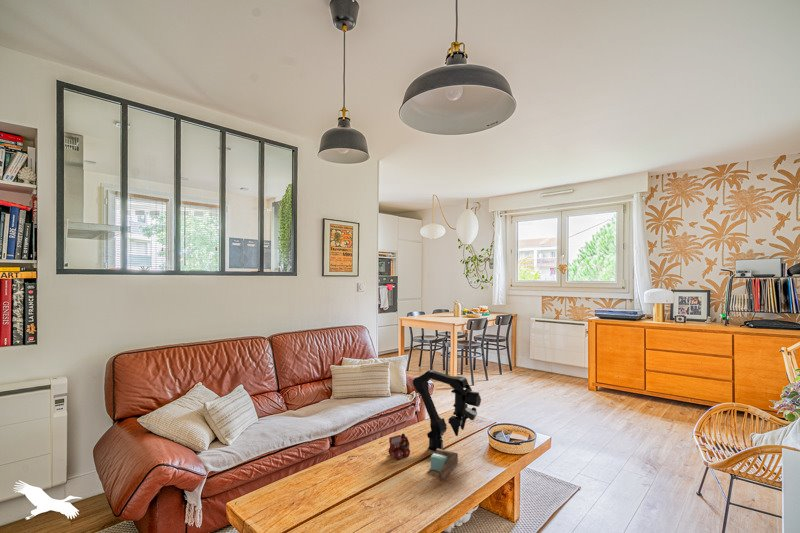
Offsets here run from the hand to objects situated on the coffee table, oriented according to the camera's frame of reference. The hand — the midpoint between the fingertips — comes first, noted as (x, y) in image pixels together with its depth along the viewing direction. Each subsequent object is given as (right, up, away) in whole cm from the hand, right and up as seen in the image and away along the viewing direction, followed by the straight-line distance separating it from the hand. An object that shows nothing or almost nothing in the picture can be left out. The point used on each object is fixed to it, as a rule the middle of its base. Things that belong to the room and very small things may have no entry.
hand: (459, 432), depth 198 cm
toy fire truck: (-31, -12, -1) cm, 33 cm away
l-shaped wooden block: (-11, -11, -15) cm, 22 cm away
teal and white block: (-12, -11, -14) cm, 22 cm away
